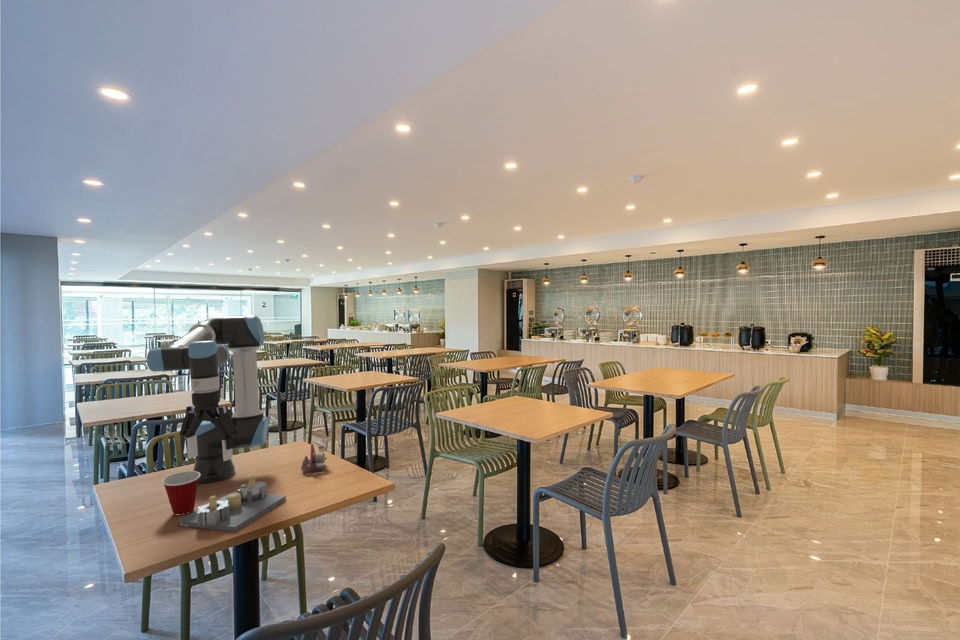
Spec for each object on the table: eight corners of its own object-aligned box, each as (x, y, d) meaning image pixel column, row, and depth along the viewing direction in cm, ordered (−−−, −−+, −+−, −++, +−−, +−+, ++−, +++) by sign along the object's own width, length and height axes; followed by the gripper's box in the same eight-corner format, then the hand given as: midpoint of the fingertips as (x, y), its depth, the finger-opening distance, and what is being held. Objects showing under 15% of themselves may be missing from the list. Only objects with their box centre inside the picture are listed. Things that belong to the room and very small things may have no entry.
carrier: (178, 525, 141) (176, 498, 140) (234, 495, 162) (232, 472, 161) (235, 532, 135) (233, 504, 134) (285, 500, 156) (284, 476, 155)
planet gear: (189, 524, 137) (188, 512, 137) (214, 510, 146) (213, 498, 146) (213, 527, 135) (212, 514, 135) (238, 513, 144) (237, 501, 144)
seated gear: (232, 501, 153) (232, 490, 153) (251, 491, 161) (250, 480, 161) (254, 503, 151) (253, 491, 150) (272, 493, 159) (271, 482, 158)
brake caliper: (297, 461, 188) (314, 437, 190) (320, 474, 191) (337, 450, 192) (293, 471, 177) (311, 445, 179) (317, 484, 180) (335, 459, 181)
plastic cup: (172, 522, 143) (170, 485, 142) (158, 514, 149) (156, 479, 148) (208, 508, 152) (206, 473, 151) (194, 501, 158) (191, 468, 157)
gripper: (163, 392, 139) (168, 460, 140) (228, 393, 132) (233, 464, 133) (185, 388, 146) (189, 452, 147) (248, 388, 139) (252, 456, 140)
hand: (210, 458), depth 140 cm, fingers open, 13 cm apart
